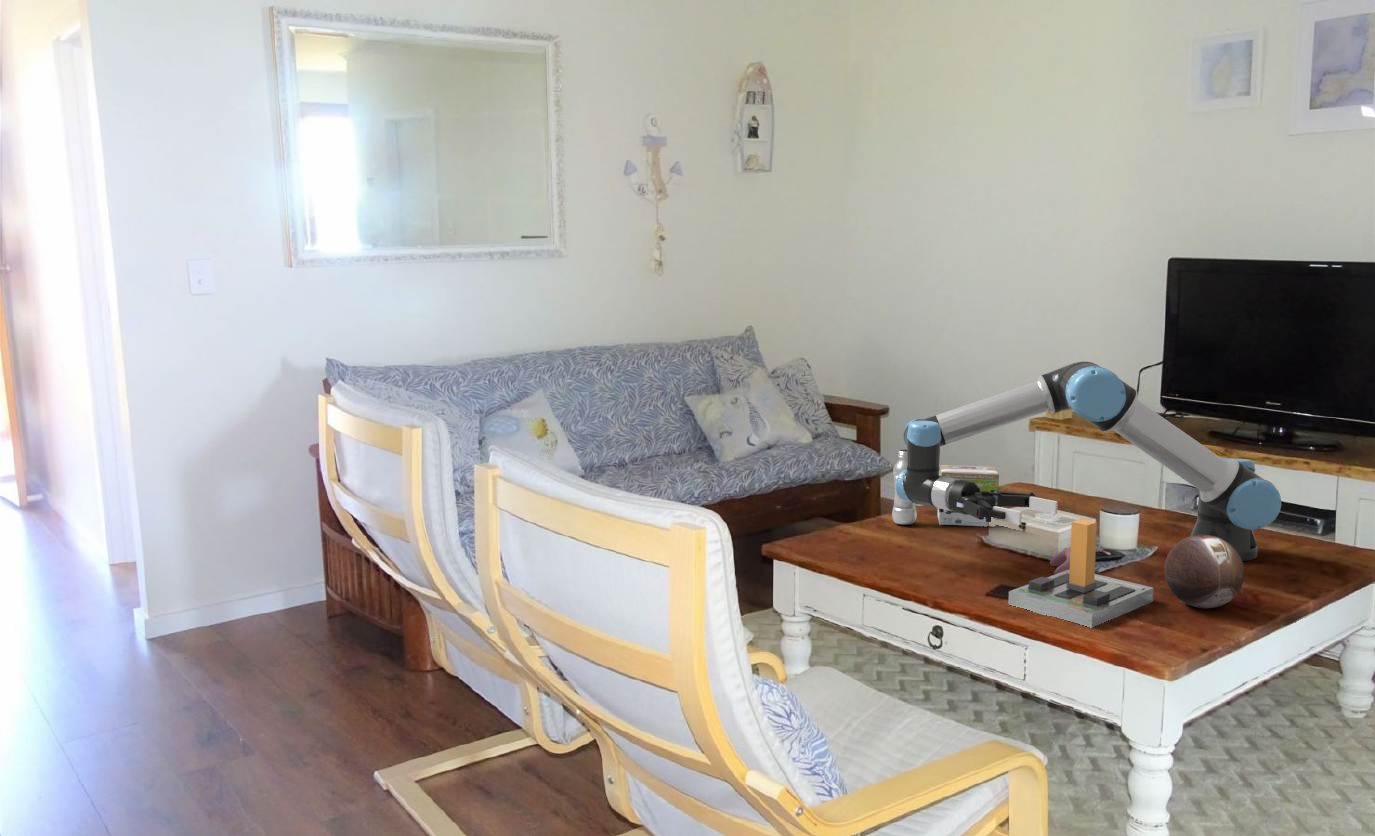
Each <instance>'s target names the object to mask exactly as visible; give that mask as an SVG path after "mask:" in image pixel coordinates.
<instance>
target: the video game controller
mask: <svg viewBox="0 0 1375 836" xmlns="http://www.w3.org/2000/svg"><path fill="white" fill-rule="evenodd" d="M1070 550H1071V546H1070V545H1068V546H1067V547H1065V548H1064V549H1062V550H1061V551H1060V552H1059V553H1056V554H1055V556H1053V557H1052V558H1051V559H1050V561H1049V565H1050V566H1051V567H1052V566H1057V567H1055V568H1056V569H1055V570H1054V572H1053V575H1055V574H1058V573H1061V572H1063V571H1066V570H1069V569H1070Z"/></svg>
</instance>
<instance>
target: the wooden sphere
mask: <svg viewBox="0 0 1375 836" xmlns="http://www.w3.org/2000/svg"><path fill="white" fill-rule="evenodd" d="M1163 566H1164V568H1163V571H1164V577H1165V578H1164V579H1165V581H1166V584H1167V586H1168V588H1169V589H1170V591H1171V593H1173V595H1174V596H1175V597H1176V598H1178V599H1179V600H1180V601H1182V602H1183V603H1185V604H1187V605H1189V606H1191V607H1194V608H1198V609H1213V608H1218V607H1221V606H1223V605H1226V604H1227V603H1230V602H1231V601H1232V600H1233V599H1234V598H1235V597H1236V596H1237V595H1238V594H1239V592H1240V591H1241V589H1242V587H1243V584H1244V581H1245V567H1244V561H1242V560H1241V558H1240V556H1239V554H1238V553H1237V551H1236V550H1235V549H1234V548H1233V547H1232V546H1231V545H1230V544H1229V543H1227V542H1226V541H1224V540H1222V539H1220V538H1218V537H1215V536H1211V535H1194V536H1190V535H1189V536H1188V537H1185V538H1183V539H1181V540H1180V541H1178V542H1176V544H1174V546H1172V547H1171V549H1170V550H1169V552H1168V554H1167V556H1166V558H1165V561H1164V565H1163Z"/></svg>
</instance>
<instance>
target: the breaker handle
mask: <svg viewBox="0 0 1375 836" xmlns="http://www.w3.org/2000/svg"><path fill="white" fill-rule="evenodd" d="M1097 525H1098V522H1097V521H1093V520H1089V519H1083V518H1080V519H1076V520H1074V521H1071V532H1070V533H1071V534H1070V547H1071V550H1070V575H1069V582H1068V583H1067V589H1071V590H1075V591H1079V592H1083V593H1085V592H1087V591H1090V590H1092V589H1095V588H1096V585H1097V582H1094V576H1095V574H1096V573H1095V572H1096V554H1097V553H1096V548H1097V531H1098V530H1097V527H1098V526H1097Z"/></svg>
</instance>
